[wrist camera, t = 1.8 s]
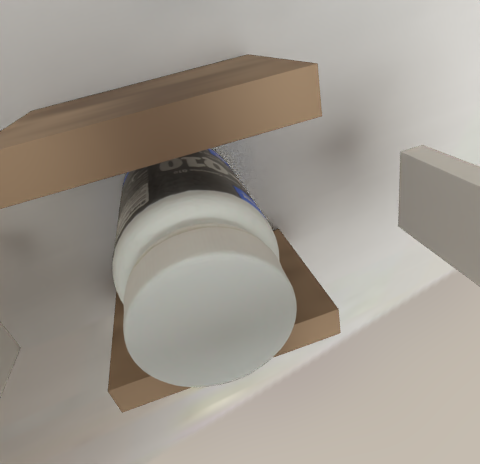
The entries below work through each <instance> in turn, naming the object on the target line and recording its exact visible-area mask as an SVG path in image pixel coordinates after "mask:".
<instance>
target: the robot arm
mask: <svg viewBox="0 0 480 464" xmlns="http://www.w3.org/2000/svg"><path fill="white" fill-rule="evenodd" d="M398 226H399V227H400V228H401V229H403V230H404V231H405V232H407V233H408V234H409V235H411V236H412V237H413V238H415V239H416V240H417V241H419V242H420V243H421V244H423V245H424V246H426V247H427V248H428V249H430V250H431V251H432V252H434V253H435V254H436V255H438V256H439V257H440V258H442V259H443V260H444V261H446V262H447V263H449V264H450V265H451V266H453V267H454V268H455V269H457V270H458V271H459V272H461V273H462V274H463V275H465V276H466V277H467V278H469V279H470V280H471V281H473V282H474V283H476V284H477V285H478V286H480V167H479V166H476V165H474V164H471V163H469V162H466V161H463V160H461V159H458V158H455V157H453V156H450V155H448V154H445V153H442V152H440V151H437V150H435V149H432V148H429V147H427V146H424V145H421V146H418V147H414V148H411V149H408V150H404V151H401V152H400V182H399V216H398ZM20 348H21V347H20V346H19V345H18V344H17V342H16V341H15V340H14V339H13V337H12V336H11V335H10V334H9V332H8V331H7V330H6V329H5V327H4V326H3V325H2V324H1V322H0V397H1V395H2V393H3V390H4V388H5V385H6V383H7V380H8V378H9V375H10V373H11V370H12V368H13V365H14V363H15V360H16V358H17V355H18V353H19V351H20Z"/></svg>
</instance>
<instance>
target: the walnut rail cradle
mask: <svg viewBox="0 0 480 464" xmlns="http://www.w3.org/2000/svg"><path fill="white" fill-rule="evenodd" d="M321 116H322V111H321V99H320V87H319V75H318V64H317V63H310V62H302V61H294V60H286V59H279V58H271V57H263V56H255V55H244V56H240V57H236V58H233V59H229V60H225V61H221V62H217V63H213V64H210V65H206V66H202V67H198V68H194V69H190V70H187V71H183V72H179V73H175V74H171V75H167V76H164V77H160V78H156V79H152V80H148V81H144V82H141V83H137V84H133V85H129V86H125V87H121V88H118V89H114V90H110V91H106V92H102V93H98V94H95V95H91V96H87V97H83V98H79V99H75V100H72V101H68V102H64V103H60V104H56V105H52V106H49V107H45V108H41V109H37V110H33V111H31V112H29V113H28V114H26V115H24V116H23V117H21V118H20V119H18V120H17V121H15V122H14V123H12V124H11V125H9V126H8V127H6V128H5V129H3V130H2V131H0V209H2V208H5V207H9V206H12V205H16V204H19V203H23V202H26V201H29V200H33V199H36V198H40V197H43V196H47V195H50V194H54V193H57V192H61V191H64V190H68V189H71V188H75V187H78V186H81V185H85V184H88V183H92V182H95V181H99V180H102V179H106V178H109V177H113V176H116V175H120V174H123V173H127V172H130V171H133V170H137V169H140V168H144V167H147V166H151V165H154V164H158V163H161V162H165V161H168V160H172V159H175V158H179V157H182V156H186V155H189V154H192V153H196V152H199V151H203V150H206V149H210V148H213V147H217V146H220V145H224V144H227V143H231V142H234V141H238V140H241V139H244V138H248V137H251V136H255V135H258V134H262V133H265V132H269V131H272V130H276V129H279V128H283V127H286V126H290V125H293V124H297V123H300V122H303V121H307V120H310V119H314V118H317V117H321ZM273 232H274V235H275V237H276V240H277V244H278V249H279V262H280V264H281V266H282V269H283V271H284V272H285V274H286V276H287V278H288V279H289V281H290V283H291V285H292V287H293V290H294V293H295V297H296V305H297V312H296V320H295V323H294V327H293V329H292V332H291V334H290V336H289V338H288V340H287V341H286V343H285V344H284V346H283V347H282V348H281V349H280V350H279V351H278V353H277V354H276V355H275V356H274V357H276V356H279V355H282V354H284V353H287V352H290V351H293V350H295V349H298V348H301V347H304V346H306V345H309V344H312V343H315V342H317V341H320V340H323V339H326V338H328V337H331V336H334V335H337V334H339V333H340V321H339V310H338V308H337V306H336V305H335V304H334V302H333V301H332V300H331V298H330V297H329V296H328V294H327V293H326V292H325V290H324V289H323V288H322V286H321V285H320V284H319V282H318V281H317V280H316V278H315V277H314V276H313V274H312V273H311V272H310V270H309V269H308V268H307V266H306V265H305V263H304V262H303V261H302V259H301V258H300V257H299V255H298V254H297V253H296V251H295V250H294V249H293V247H292V246H291V245H290V243H289V242H288V241H287V239H286V238H285V237H284V235H283V234H282V233H281V231H280V230H279V229H277V230H274V231H273ZM123 319H124V304H123V303H122V301H121V300H120V298H119V295H118V293H117V292H116V303H115V315H114V326H113V338H112V349H111V361H110V372H109V384H108V392H109V394H110V395H111V397H112V398H113V400H114V401H115V403H116V404H117V406H118V407H119V409H120V410H121V412H125V411H128V410H131V409H133V408H136V407H139V406H142V405H144V404H147V403H150V402H153V401H155V400H158V399H161V398H163V397H166V396H169V395H172V394H174V393H177V392H180V391H183V390H185V389H188V388H191V387H183V386H176V385H172V384H169V383H166V382H163V381H160V380H158V379H156V378H154V377H152V376H150V375H149V374H147V373H146V372H144V371H143V370H142V369H141V368H140V367H139V366H138V365H137V364H136V363H135V362H134V360H133V359H132V358H131V356H130V354H129V352H128V350H127V347H126V343H125V340H124V332H123Z"/></svg>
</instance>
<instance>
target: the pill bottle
mask: <svg viewBox="0 0 480 464" xmlns="http://www.w3.org/2000/svg"><path fill="white" fill-rule="evenodd" d="M112 273H113V279H114V284H115V288H116V291H117V293H118V295H119V298H120V300H121V301H122V303H123V304H124V319H123V332H124V340H125V343H126V347H127V350H128V352H129V354H130V356H131V358H132V359H133V360H134V362H135V363H136V364H137V365H138V366H139V367H140V368H141V369H142V370H143V371H144V372H146V373H147V374H149V375H150V376H152V377H154V378H156V379H158V380H160V381H163V382H166V383H169V384H172V385H176V386H183V387H208V386H214V385H219V384H224V383H228V382H231V381H234V380H237V379H239V378H242V377H244V376H246V375H248V374H250V373H252V372H254V371H255V370H257V369H258V368H259V367H261V366H263V365H264V364H265V363H267V362H268V361H269V360H271V359H272V358H273V357H274V356H275V355H276V354H277V353H278V351H279V350H280V349H281V348H282V347H283V346H284V344H285V343H286V341H287V340H288V338H289V336H290V334H291V332H292V329H293V327H294V323H295V320H296V312H297V305H296V297H295V293H294V290H293V287H292V285H291V283H290V281H289V279H288V278H287V276H286V274H285V272H284V271H283V269H282V266H281V264H280V262H279V249H278V244H277V240H276V237H275V235H274V232H273V230H272V228H271V226H270V224H269V222H268V221H267V219H266V218H265V216H264V215H263V213H262V212H261V211H260V209H259V208H258V207H257V205H256V204H255V202H254V201H253V200H252V198H251V197H250V196H249V194H248V193H247V191H246V190H245V188H244V187H243V185H242V183H241V182H240V181H239V180H238V178H237V177H236V176H235V174H234V173H233V171H232V170H231V168H230V167H229V165H228V164H227V163H226V161H225V160H224V159H223V158H222V157H221V156H220V155H219V154H217V153H216V152H215V151H213V150H212V149H206V150H203V151H199V152H196V153H192V154H189V155H186V156H182V157H179V158H175V159H172V160H168V161H165V162H161V163H158V164H154V165H151V166H147V167H144V168H140V169H137V170H133V171H130V172H127V173H126V176H125V179H124V183H123V188H122V196H121V201H120V208H119V217H118V225H117V231H116V239H115V247H114V253H113V259H112Z"/></svg>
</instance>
